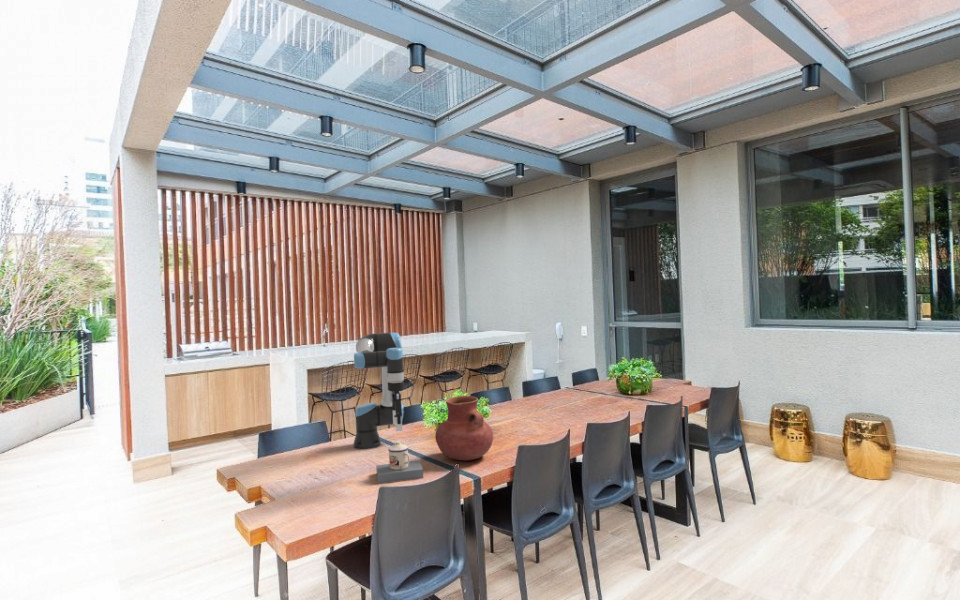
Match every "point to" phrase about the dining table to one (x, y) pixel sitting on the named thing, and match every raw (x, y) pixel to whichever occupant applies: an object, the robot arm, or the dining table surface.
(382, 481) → the serving riser
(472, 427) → the clay pot
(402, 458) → the teacup with lid
